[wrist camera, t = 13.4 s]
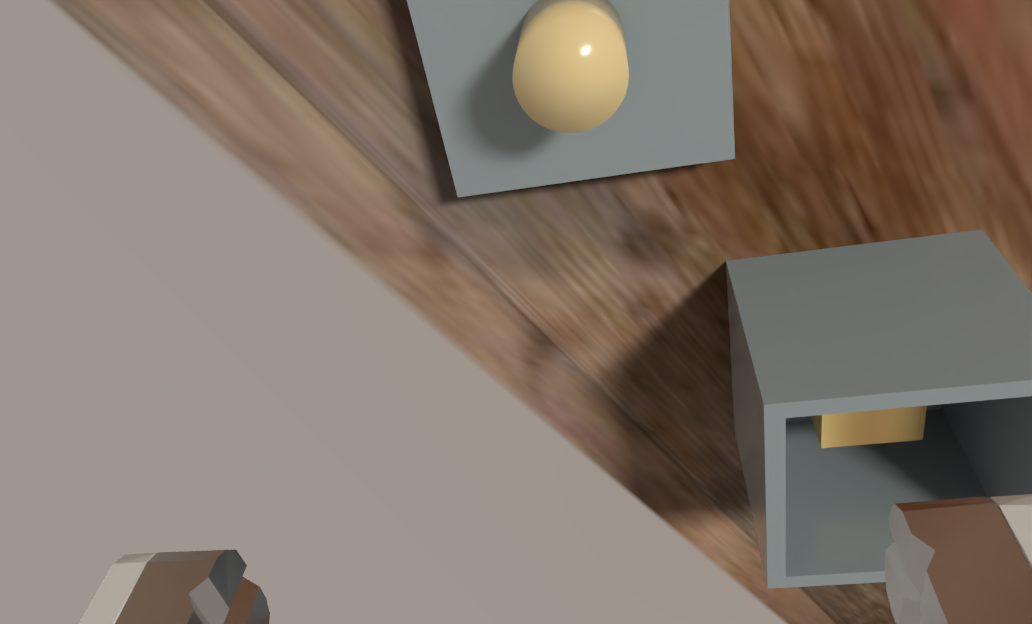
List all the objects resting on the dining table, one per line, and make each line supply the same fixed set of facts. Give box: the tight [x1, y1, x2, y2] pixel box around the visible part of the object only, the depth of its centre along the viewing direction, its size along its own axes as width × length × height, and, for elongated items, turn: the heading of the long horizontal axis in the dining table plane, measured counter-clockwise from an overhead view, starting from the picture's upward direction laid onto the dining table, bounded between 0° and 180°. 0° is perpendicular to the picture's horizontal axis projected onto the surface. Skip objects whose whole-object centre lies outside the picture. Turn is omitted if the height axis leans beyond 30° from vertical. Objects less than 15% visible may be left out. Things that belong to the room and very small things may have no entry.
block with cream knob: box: [407, 0, 735, 197], centre depth 27 cm, size 10×10×6 cm
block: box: [811, 406, 927, 448], centre depth 34 cm, size 4×4×4 cm
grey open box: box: [726, 230, 1032, 589], centre depth 32 cm, size 10×10×9 cm
